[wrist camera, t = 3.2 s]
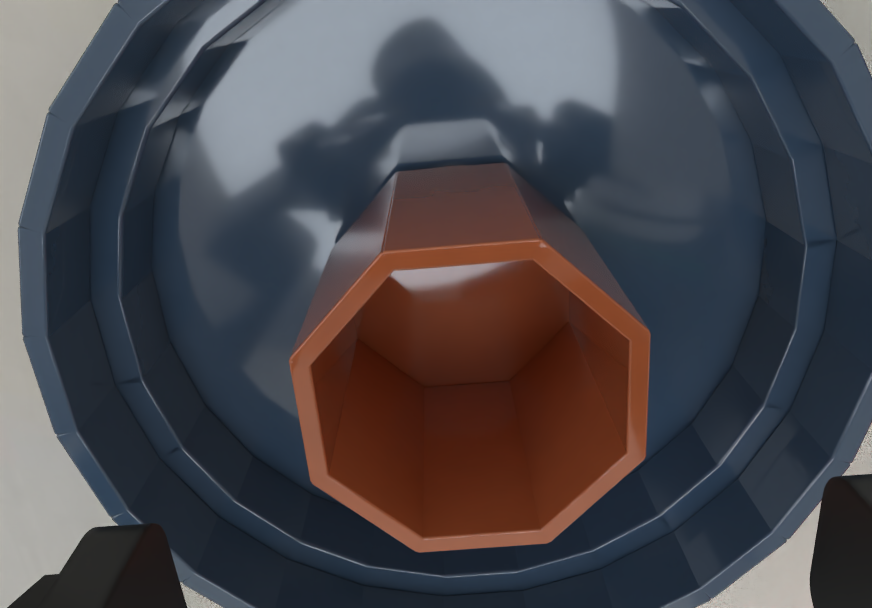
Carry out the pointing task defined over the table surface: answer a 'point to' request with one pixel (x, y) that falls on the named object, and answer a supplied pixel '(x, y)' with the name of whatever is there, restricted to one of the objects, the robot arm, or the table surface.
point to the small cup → (469, 365)
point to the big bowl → (425, 149)
